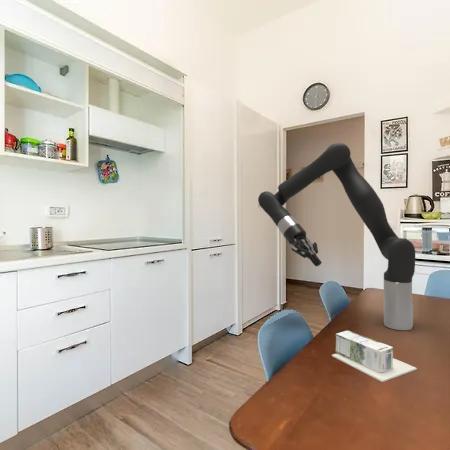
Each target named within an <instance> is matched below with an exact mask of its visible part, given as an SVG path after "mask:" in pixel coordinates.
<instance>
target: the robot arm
mask: <svg viewBox="0 0 450 450" xmlns="http://www.w3.org/2000/svg"><path fill="white" fill-rule="evenodd" d="M331 171H332V172H333V173H334V174H335V176H336V177H337V179H338V180H339V181H340V183H341V185H342V187H343V189H344V192H345V194H346V195H347V197H348V200H349V202H350V203H351V206H352V207H353V208H354V210H355V211H356V212H357V215H358V216H359V218H361V220H362V221H363V223H364V225H365V226H366V227H367V229H368V230H369V232H370V233H371V235H372V237H373V238H374V241H375V244H376V245H377V247H378V249H379V251H380V253H381V255H382V256H383V258H385V259H386V260H387V269H386V271H383V325H384V327H387V328H389V329H392V330H397V331H411V330H413V327H414V302H413V277H414V275H415V271H416V248H415V245H414V243H413V242H412V241H410V240H409V239H407V238H402V237H398V235H397V234H396V232H395V231H394V229H393V228H392V227H391V226H390V224H389V221H388V219H387V214H386V210H385V207H384V203H383V202H382V200H381V198H380V197H379V196H378V194H377V192H376V191H375V190H374V188H373V186H372V185H370V183H369V182H368V181H367V179H365V177H363V175H362V174H361V173H360V172H359V171H358V169H357V167H356V165H355V163H354V162H353V160H352V157H351V149H350V148H349V147H348V145H347V144H345V143H342V142H335V143H332V144H330V145H329V146H328V147H327V148H326V150H324V151H323V152H322V154H320V155H319V156H318V157H317V158H316V159H314V161H312V162H311V163H310V164H308V165H306V167H304V168H302V169H301V170H299V171H298V172H296V173H295V174H292V175H291V176H290V177H288V178H287V179H285V180H284V181H283V182H281V183H280V184H279V185H278V186H277V189H278V191H277V192H276V193H275V194H274V193H273V192H271V191H262V192H261V193H260V194H259V196H258V199H257V201H258V202H257V203H258V205H259V206H260V207H261V209H262V210H263V211H264V212H265V213H266V214H267V215H268V216H269V217H270V219H271V220H272V221H273V224H275V226H276V227H277V229H278V230H279V232H280V234H281V235H282V236H283V237H284V238H285V240H286V241H287V243H289V245H291V246H292V247H291V251H293V252H295V254H297V255H299V256H300V257H302V258H304V259H308V260H309V261H310V262H311V263H312V264H313V265H314V266H315V267H320V266H321V264H322V262H323V261H321V259H320V258H319V257H318V255H317V254H318V253H319V248H318V244H317V242H311V240H310V239H309V238H307V231H306V230H305V229H304V228H303V226H302V225H301V224H300V223H299V222H298V221H297V220H296V219H295V218H294V216H292V214H291V213H290V212H289V211H288V210H287V209H286V207H284V205H286V203H287V202H288V201H289V199H291V198H293V197H294V196H295V195H297V194H299V193H300V192H301V191H303V190H304V189H306V188H307V187H308V186H309V185H311V184H313V182H314V181H316V180H318V179H319V178H321V177H322V176H324V175H326V174H327V173H329V172H331Z"/></svg>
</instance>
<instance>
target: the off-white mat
mask: <svg viewBox="0 0 450 450" xmlns="http://www.w3.org/2000/svg"><path fill="white" fill-rule="evenodd" d="M331 357H333V358H335V359H336V360H338V361H340V362H343V363H344V364H346V365H348V366H350V367H352V368H354V369H356V370H358V371H359V372H362V373H364V374H365V375H367V376H369V377H371V378H373V379H375V380H377V381H379V382H381V383H385V382H387V381H390V380H393V379H395V378H398V377H401V376H403V375H406V374H409V373H412V372H414V371H417V370H418V367H415V366H413V365H410V364H408V363H406V362H403V361H401V360H399V359H396V358H394V357H393V368H392V369H390V370H388V371H385V372H381V373H378V372H376V371H374V370H372V369H370V368H368V367H366V366H364V365H362V364H359V363H357V362H355V361H353V360H351V359H349V358H347V357H345V356H342V355H340V354H338V353H336V352H335V353H333V354H331Z"/></svg>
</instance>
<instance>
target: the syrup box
mask: <svg viewBox="0 0 450 450" xmlns="http://www.w3.org/2000/svg"><path fill="white" fill-rule="evenodd" d="M334 345H335V349H334V351H335V354H336V353H338V354H340V355H342V356H345V357H347V358H349V359H351V360H353V361H355V362H357V363H359V364H362V365H364V366H366V367H368V368H370V369H372V370H374V371H376V372H378V373H381V372H385V371H388V370H390V369H392V368H393V358H394V347H393V346H391V345H388V344H385V343H384V342H383V343H382V342H381V341H377V340H375V339H372V338H370V337H367V336H365V335H361V334H358V333H356V332H353V331H351V330H344V331H341V332H337V333H335V344H334Z"/></svg>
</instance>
